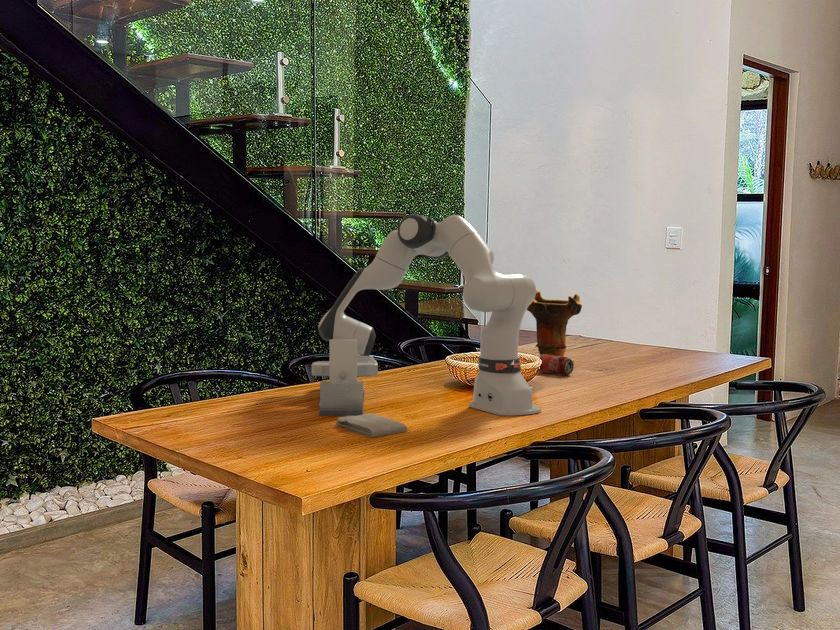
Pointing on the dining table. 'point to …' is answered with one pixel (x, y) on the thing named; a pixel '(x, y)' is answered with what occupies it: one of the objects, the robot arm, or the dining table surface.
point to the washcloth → (371, 425)
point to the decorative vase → (553, 322)
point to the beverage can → (556, 365)
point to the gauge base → (341, 398)
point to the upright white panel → (343, 359)
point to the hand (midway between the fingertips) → (343, 372)
